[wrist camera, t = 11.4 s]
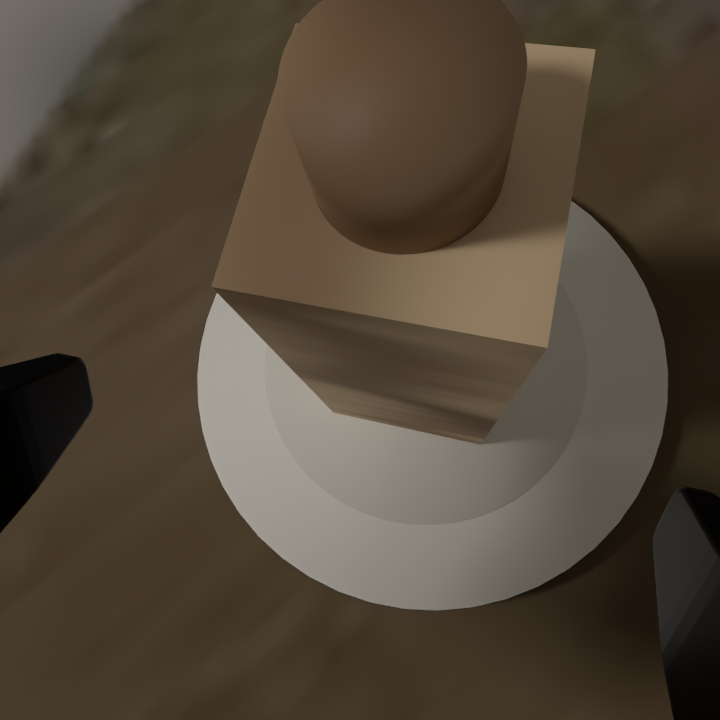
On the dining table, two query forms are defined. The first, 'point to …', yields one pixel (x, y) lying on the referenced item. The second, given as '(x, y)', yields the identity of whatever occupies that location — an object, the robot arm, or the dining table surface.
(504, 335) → the pepper mill
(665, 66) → the dining table surface
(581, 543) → the cream plate
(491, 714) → the dining table surface
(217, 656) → the dining table surface
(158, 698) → the dining table surface
